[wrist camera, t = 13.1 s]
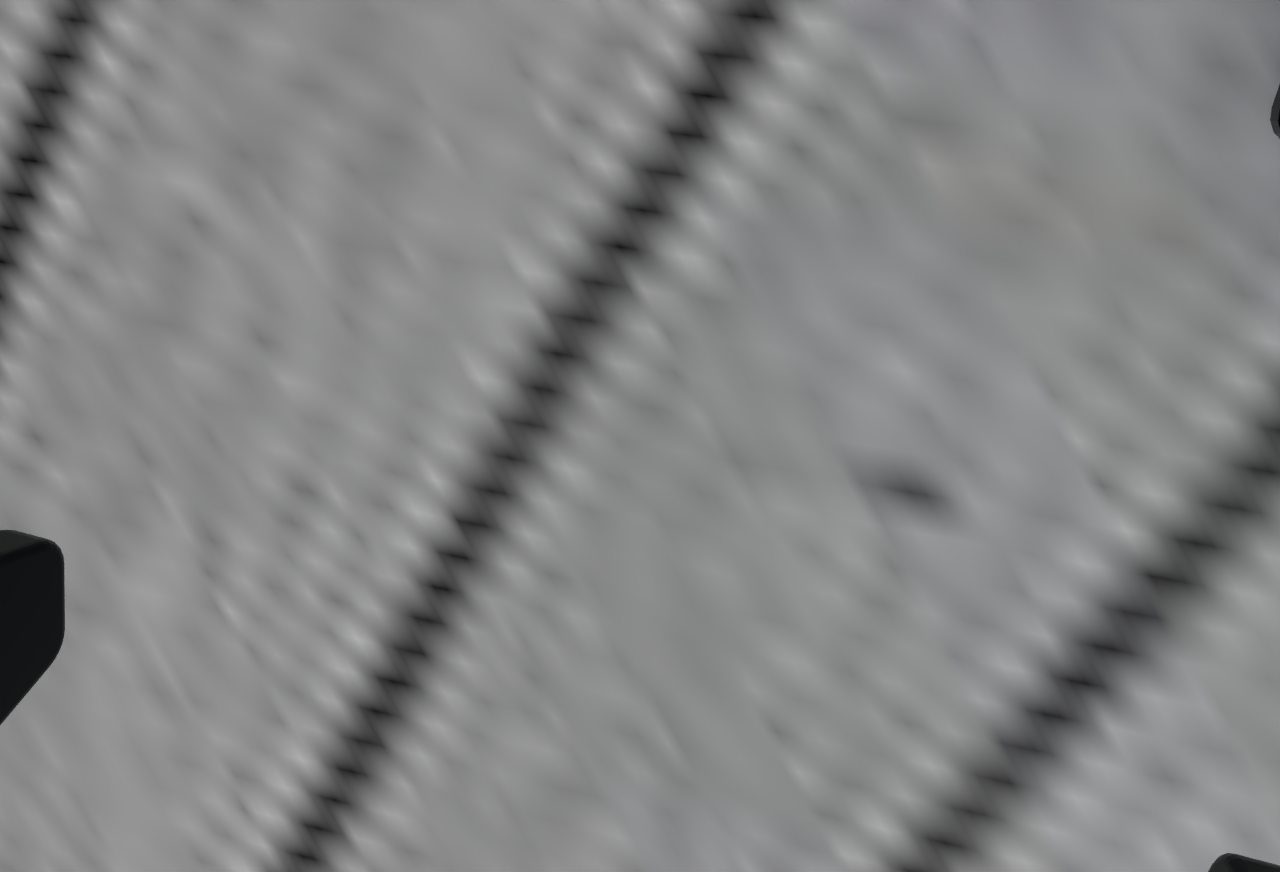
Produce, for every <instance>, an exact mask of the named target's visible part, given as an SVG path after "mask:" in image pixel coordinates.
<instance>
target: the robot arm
mask: <svg viewBox="0 0 1280 872" xmlns="http://www.w3.org/2000/svg"><path fill="white" fill-rule="evenodd" d="M1270 121H1271V124H1272V128H1273V131H1274V133H1275V134H1276V135H1277V136H1278V137H1279V138H1280V85H1279V88H1278V91H1277V94H1276V97H1275V100H1274V103H1273V106H1272V111H1271V118H1270ZM64 631H65V599H64V557H63V554H62V551H61V549H60V548H59V546H58V545H57V544H56V543H55V542H53V541H51V540H48V539H45V538H41V537H38V536H34V535H30V534H26V533H22V532H19V531H15V530H0V725H1V724H2V723H3V721H4V720H5V719H6V718H7V717H8V715H9V714H10V713H11V712H12V711H13V709H14V708H15V707H16V706H17V705H18V703H19V702H20V701H21V700H22V699H23V698H24V696H25V695H26V694H27V693H28V692H29V690H30V689H31V688H32V687H33V686H34V684H35V683H36V682H37V681H38V680H39V678H40V677H41V676H42V675H43V674H44V672H45V671H46V670H47V669H48V668H49V666H50V665H51V664H52V662H53V661H54V660H55V658H56V656H57V654H58V653H59V650H60V648H61V645H62V642H63V638H64ZM1209 872H1280V866H1279V865H1276V864H1272V863H1268V862H1264V861H1260V860H1256V859H1253V858H1249V857H1245V856H1241V855H1237V854H1232V853H1227V854H1224V855H1222V856H1220V857H1218V858H1217V859H1216V861H1215V862H1214V863H1213V864H1212V866H1211V868H1210V870H1209Z"/></svg>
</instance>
